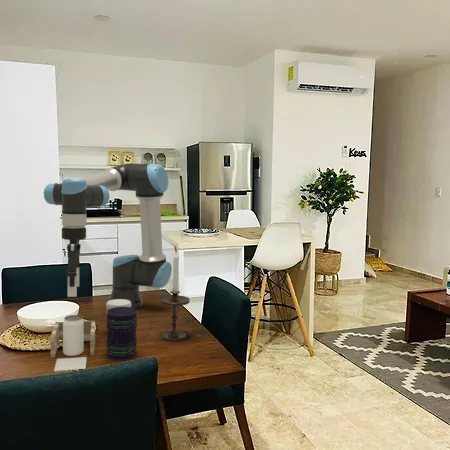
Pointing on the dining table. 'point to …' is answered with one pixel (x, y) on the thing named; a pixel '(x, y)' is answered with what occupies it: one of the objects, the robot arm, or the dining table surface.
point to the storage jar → (121, 333)
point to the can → (73, 335)
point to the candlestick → (174, 304)
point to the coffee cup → (117, 303)
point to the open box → (58, 335)
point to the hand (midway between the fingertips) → (73, 291)
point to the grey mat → (70, 364)
